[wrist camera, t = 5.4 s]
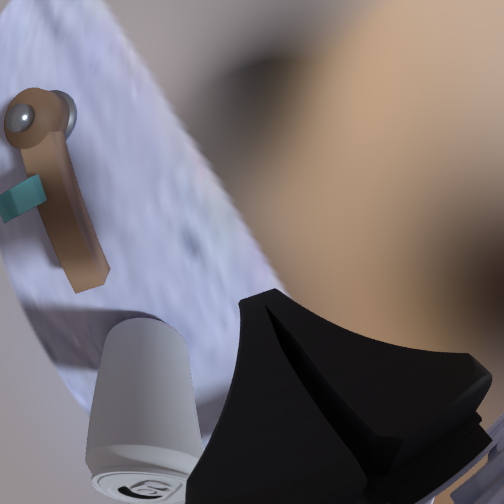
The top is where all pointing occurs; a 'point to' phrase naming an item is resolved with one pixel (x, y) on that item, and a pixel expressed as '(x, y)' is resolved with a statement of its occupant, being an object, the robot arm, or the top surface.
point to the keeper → (21, 198)
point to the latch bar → (59, 188)
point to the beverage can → (143, 415)
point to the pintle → (24, 116)
